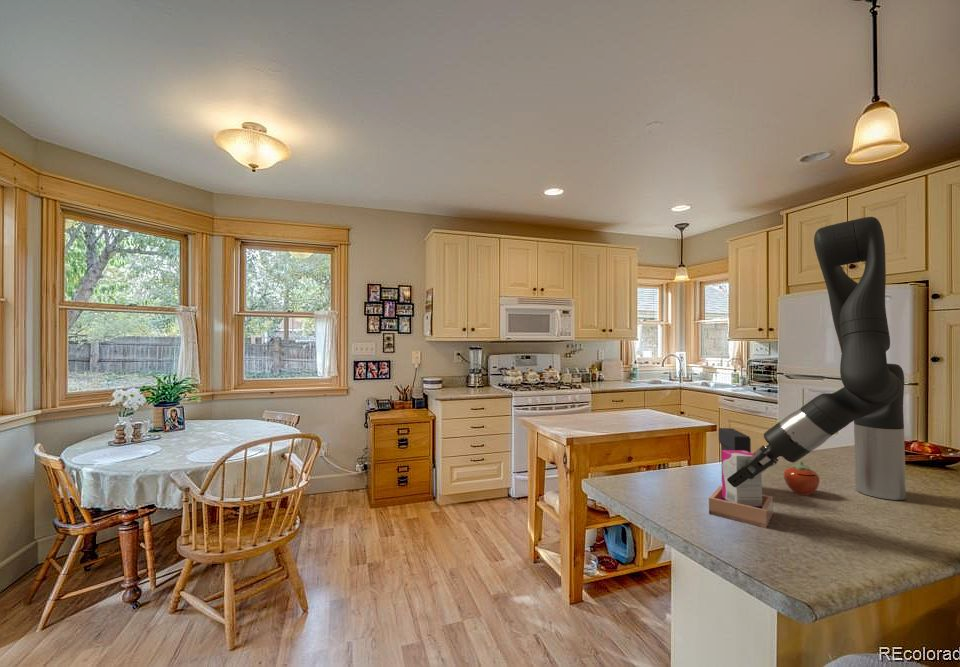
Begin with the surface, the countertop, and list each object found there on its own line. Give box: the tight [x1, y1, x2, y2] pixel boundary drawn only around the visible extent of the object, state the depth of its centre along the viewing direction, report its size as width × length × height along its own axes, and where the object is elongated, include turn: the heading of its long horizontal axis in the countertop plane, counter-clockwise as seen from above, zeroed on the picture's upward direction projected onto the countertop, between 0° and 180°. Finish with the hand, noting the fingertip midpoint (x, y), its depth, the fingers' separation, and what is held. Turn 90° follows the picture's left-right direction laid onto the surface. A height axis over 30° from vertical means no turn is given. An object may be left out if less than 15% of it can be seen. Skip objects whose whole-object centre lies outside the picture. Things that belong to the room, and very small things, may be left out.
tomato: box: [782, 460, 821, 496], centre depth 106 cm, size 7×7×8 cm
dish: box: [708, 485, 774, 529], centre depth 92 cm, size 11×11×4 cm
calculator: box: [718, 427, 752, 463], centre depth 108 cm, size 11×4×15 cm, turn 168°
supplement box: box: [721, 450, 763, 509], centre depth 92 cm, size 6×6×12 cm
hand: (734, 478), depth 93 cm, fingers closed on supplement box, 8 cm apart
